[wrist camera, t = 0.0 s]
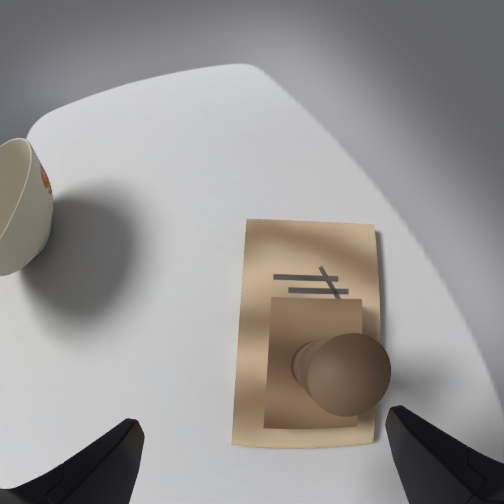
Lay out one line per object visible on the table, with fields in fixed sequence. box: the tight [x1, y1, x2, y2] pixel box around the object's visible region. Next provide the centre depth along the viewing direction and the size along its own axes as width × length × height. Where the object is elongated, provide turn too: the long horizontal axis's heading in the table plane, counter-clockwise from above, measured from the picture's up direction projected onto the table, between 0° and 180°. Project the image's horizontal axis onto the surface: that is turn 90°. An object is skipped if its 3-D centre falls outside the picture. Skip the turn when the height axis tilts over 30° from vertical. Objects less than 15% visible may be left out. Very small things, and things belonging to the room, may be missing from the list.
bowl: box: [0, 138, 53, 276], centre depth 24 cm, size 16×16×10 cm
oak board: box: [232, 219, 380, 448], centre depth 23 cm, size 20×12×1 cm, turn 177°
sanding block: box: [263, 297, 391, 429], centre depth 16 cm, size 10×7×12 cm
